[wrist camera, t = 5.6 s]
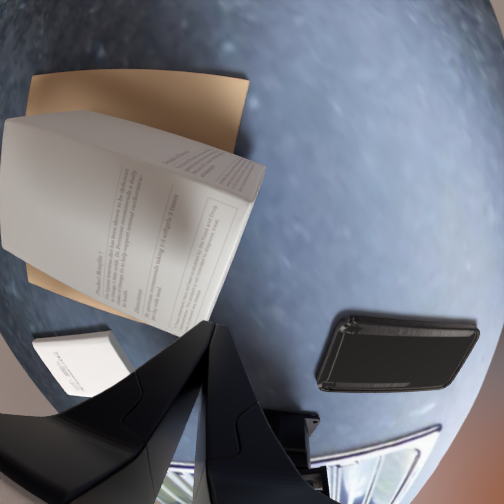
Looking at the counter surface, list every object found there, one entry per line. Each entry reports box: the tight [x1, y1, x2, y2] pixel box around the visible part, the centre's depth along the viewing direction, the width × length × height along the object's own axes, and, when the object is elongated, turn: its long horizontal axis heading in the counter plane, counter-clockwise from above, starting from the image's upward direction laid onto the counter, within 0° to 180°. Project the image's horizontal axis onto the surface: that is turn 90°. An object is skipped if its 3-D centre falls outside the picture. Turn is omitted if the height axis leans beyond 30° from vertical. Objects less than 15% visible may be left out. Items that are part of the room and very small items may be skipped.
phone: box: [317, 316, 480, 393], centre depth 22 cm, size 8×1×15 cm
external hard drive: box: [32, 330, 136, 397], centre depth 25 cm, size 2×8×12 cm
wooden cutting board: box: [26, 69, 250, 325], centre depth 18 cm, size 18×17×1 cm
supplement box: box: [0, 110, 266, 337], centre depth 14 cm, size 7×7×13 cm
